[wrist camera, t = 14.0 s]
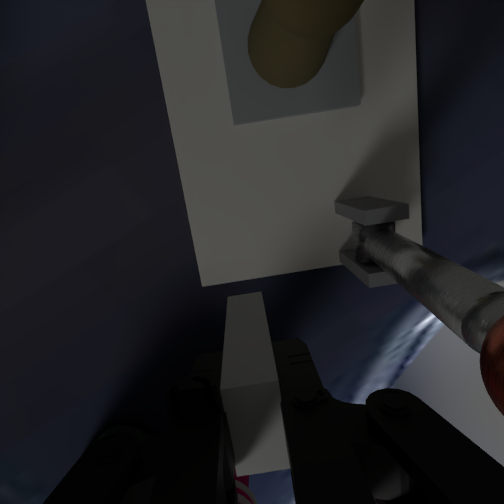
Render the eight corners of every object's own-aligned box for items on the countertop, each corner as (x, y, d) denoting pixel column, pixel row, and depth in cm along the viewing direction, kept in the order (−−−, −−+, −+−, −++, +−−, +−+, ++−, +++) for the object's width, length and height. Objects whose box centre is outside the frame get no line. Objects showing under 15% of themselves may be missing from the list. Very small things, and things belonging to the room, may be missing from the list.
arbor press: (203, 281, 32) (192, 320, 24) (140, -42, 26) (95, -143, 17) (414, 248, 32) (475, 274, 24) (401, -82, 26) (478, -200, 18)
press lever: (345, 263, 28) (547, 514, 8) (340, 214, 27) (558, 356, 7) (395, 256, 27) (742, 500, 7) (392, 206, 26) (782, 333, 6)
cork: (305, -20, 24) (359, -168, 14) (341, 62, 26) (416, -15, 15) (232, 25, 25) (228, -84, 14) (271, 103, 26) (295, 57, 16)
